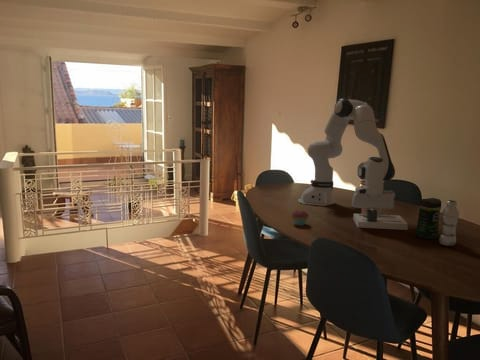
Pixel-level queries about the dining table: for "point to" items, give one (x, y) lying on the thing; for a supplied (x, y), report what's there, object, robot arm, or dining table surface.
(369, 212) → the fader
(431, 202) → the coffee jar
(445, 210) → the plastic bottle
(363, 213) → the fader
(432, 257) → the dining table surface
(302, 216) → the cupcake
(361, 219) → the console
